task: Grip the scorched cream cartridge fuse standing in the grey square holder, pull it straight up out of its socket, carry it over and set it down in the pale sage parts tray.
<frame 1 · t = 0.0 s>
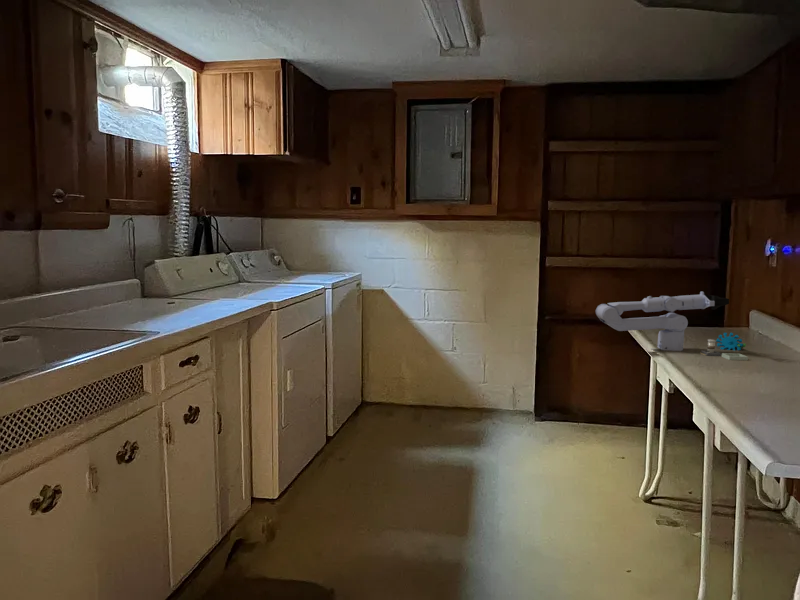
hand: (723, 300, 274), 22 cm above the table, tool horizontal, fingers open, 7 cm apart
grey square holder: (710, 357, 266), on the table
fuse: (710, 354, 266), point 1 cm above the table, touching grey square holder
parts tray: (734, 361, 260), on the table
gear: (730, 352, 279), on the table
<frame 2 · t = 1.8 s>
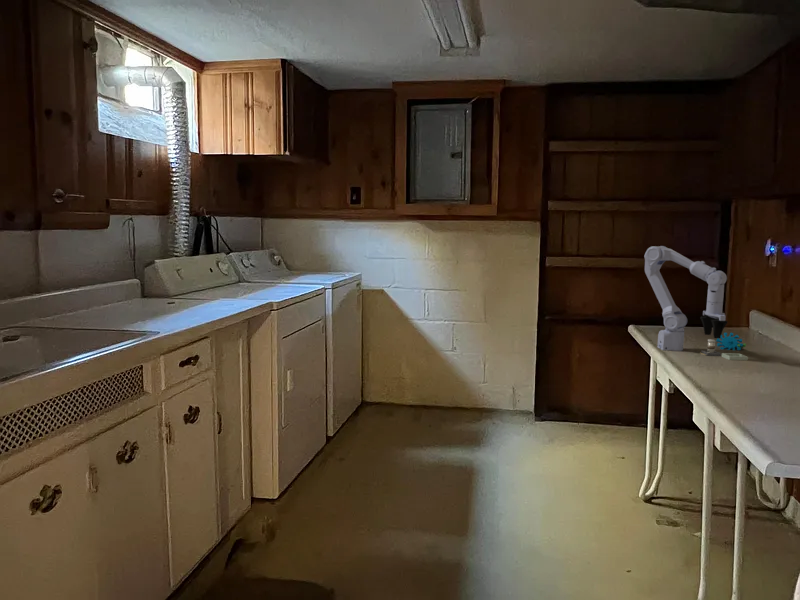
hand: (712, 336, 265), 8 cm above the table, tool pointing down, fingers open, 7 cm apart
nothing on the table moved.
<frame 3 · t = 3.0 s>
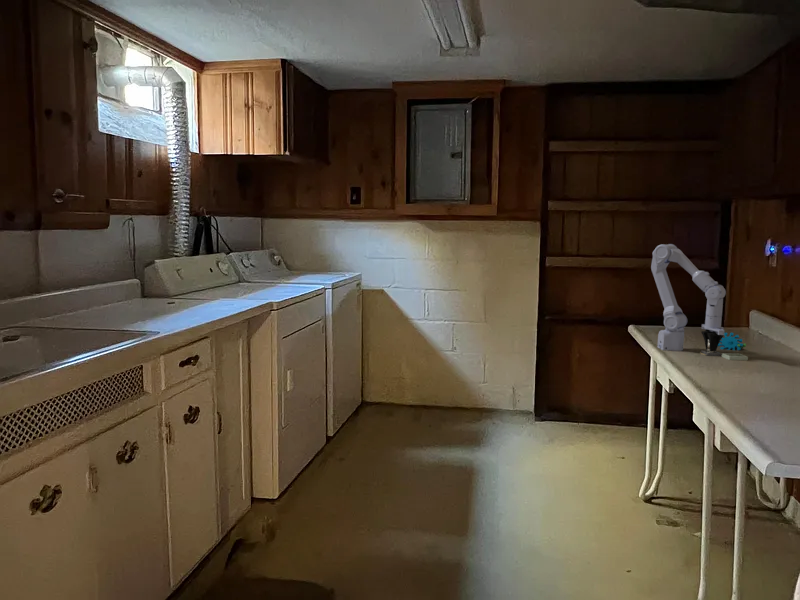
hand: (710, 350, 266), 3 cm above the table, tool pointing down, fingers closed on fuse, 3 cm apart
fuse: (710, 354, 266), point 1 cm above the table, touching grey square holder, gripper
everything else where it was.
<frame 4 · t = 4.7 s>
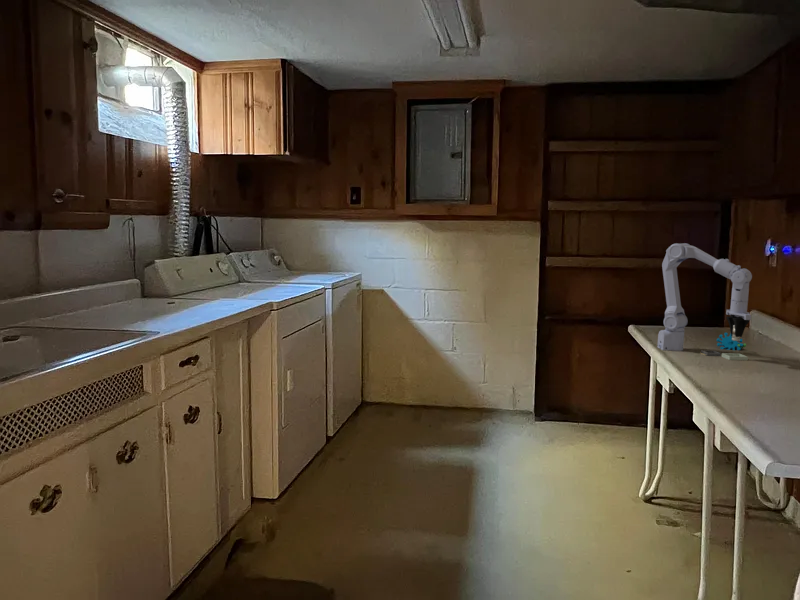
hand: (736, 335, 258), 10 cm above the table, tool pointing down, fingers closed on fuse, 3 cm apart
fuse: (735, 340, 259), point 8 cm above the table, touching gripper
everything else where it was.
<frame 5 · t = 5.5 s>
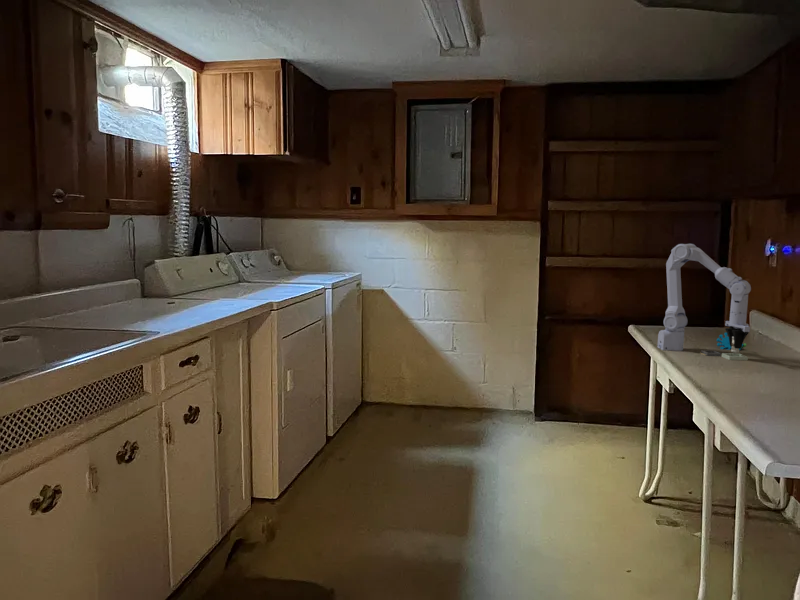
hand: (735, 347, 259), 5 cm above the table, tool pointing down, fingers closed on fuse, 3 cm apart
fuse: (734, 351, 259), point 4 cm above the table, touching gripper
everything else where it was.
when the fingers open (3 cm above the table, at t = 6.2 s): fuse drops 1 cm, resting on parts tray.
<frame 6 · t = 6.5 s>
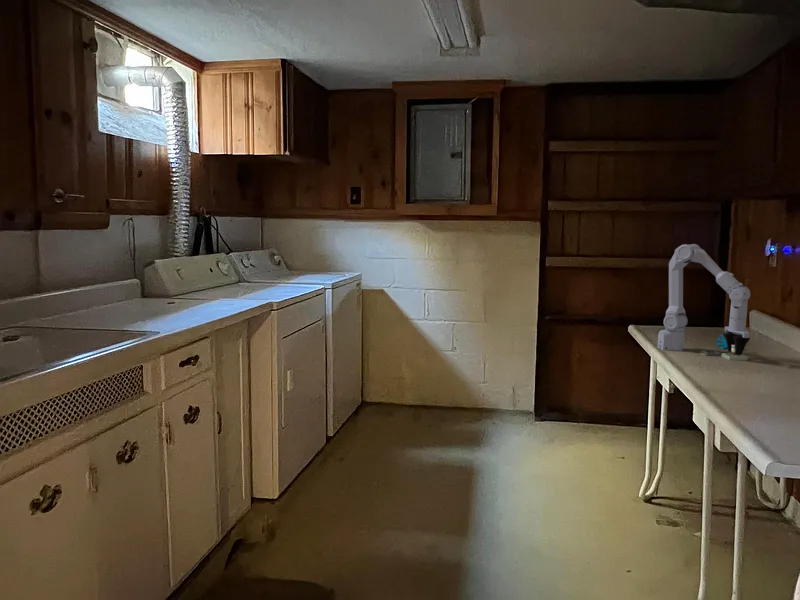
hand: (734, 353, 259), 3 cm above the table, tool pointing down, fingers open, 5 cm apart
fuse: (734, 360, 259), point 1 cm above the table, touching parts tray
everything else where it was.
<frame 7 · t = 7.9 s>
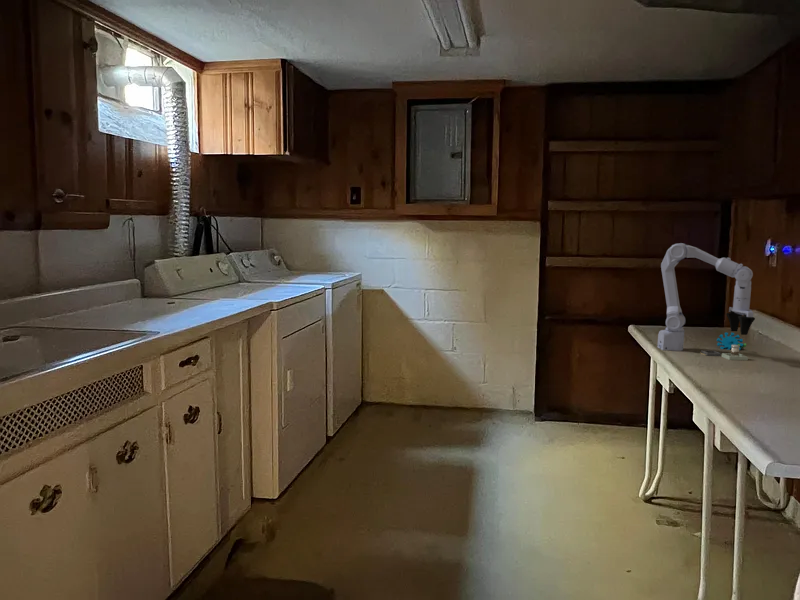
hand: (738, 332, 263), 10 cm above the table, tool pointing down, fingers open, 7 cm apart
nothing on the table moved.
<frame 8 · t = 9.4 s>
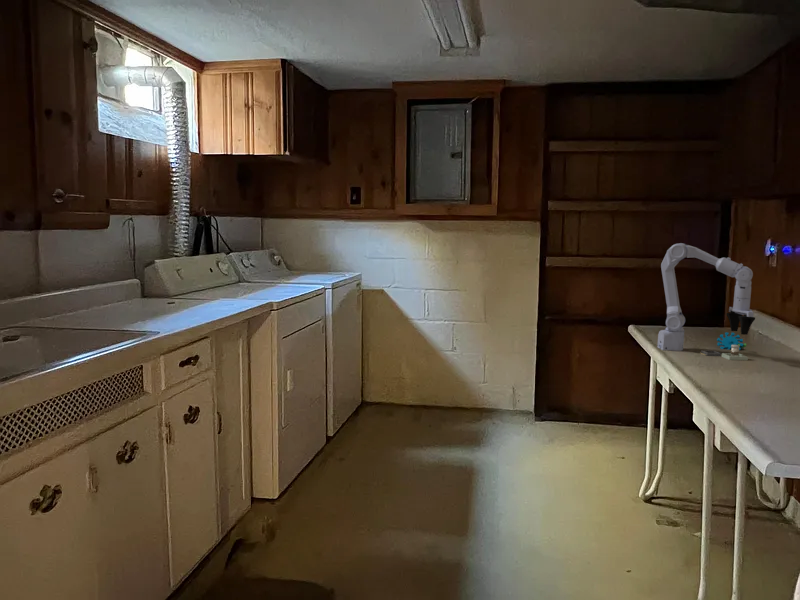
hand: (739, 332, 263), 10 cm above the table, tool pointing down, fingers open, 7 cm apart
nothing on the table moved.
at the end: fuse 0.0 cm off-centre on the parts tray, point 0.5 cm above the parts tray's base; fuse touching parts tray; the gripper is holding nothing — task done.
